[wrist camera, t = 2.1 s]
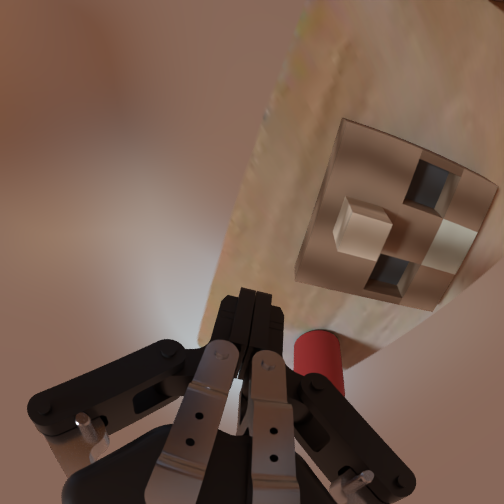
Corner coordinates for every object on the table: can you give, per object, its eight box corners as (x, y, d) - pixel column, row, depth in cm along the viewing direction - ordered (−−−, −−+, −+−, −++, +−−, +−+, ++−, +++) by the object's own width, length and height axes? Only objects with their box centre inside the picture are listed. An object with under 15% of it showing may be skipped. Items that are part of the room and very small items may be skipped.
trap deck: (342, 117, 28) (347, 121, 26) (485, 177, 29) (498, 186, 26) (294, 266, 38) (294, 281, 35) (425, 297, 38) (432, 311, 35)
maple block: (345, 195, 29) (352, 212, 26) (381, 206, 29) (392, 224, 26) (332, 231, 31) (337, 251, 28) (367, 240, 32) (376, 261, 28)
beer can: (325, 362, 46) (328, 428, 36) (286, 351, 45) (283, 420, 35) (347, 335, 43) (356, 405, 32) (306, 322, 42) (307, 394, 32)
